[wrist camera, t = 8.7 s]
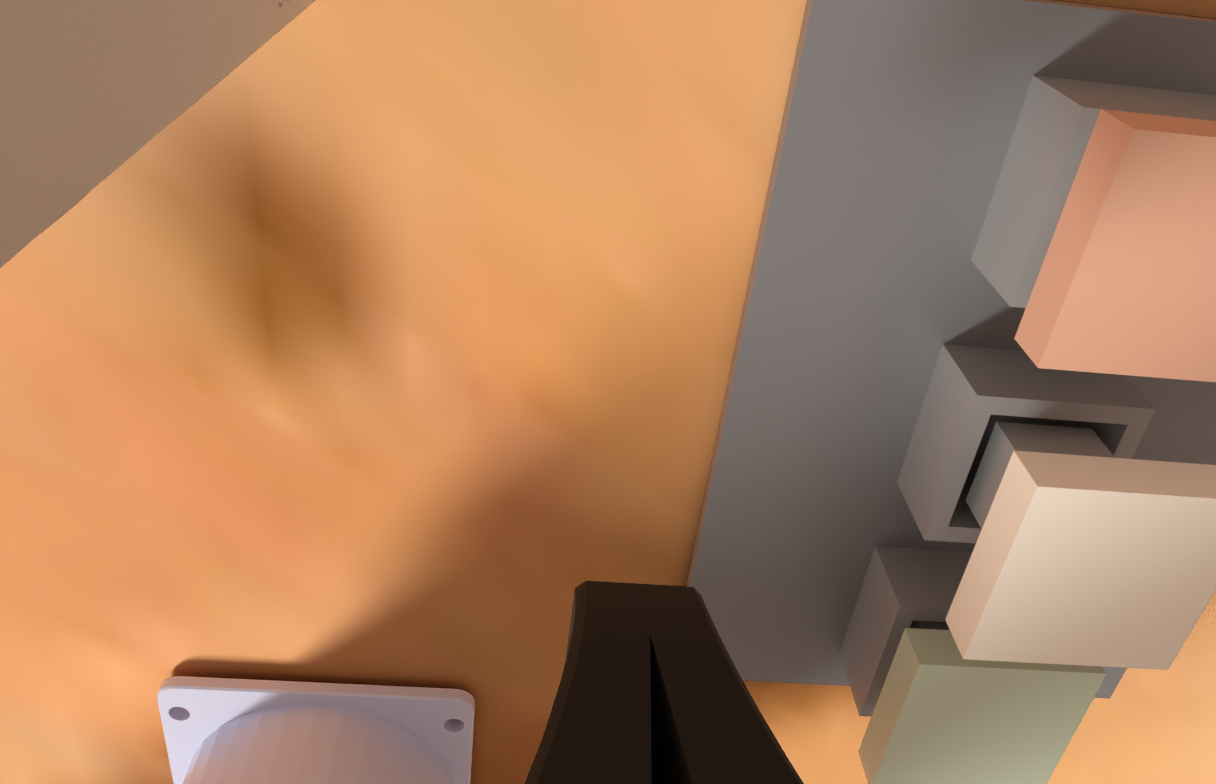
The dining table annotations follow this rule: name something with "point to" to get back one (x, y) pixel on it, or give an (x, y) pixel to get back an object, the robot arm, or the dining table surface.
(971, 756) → the key sage
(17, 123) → the supplement box
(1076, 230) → the key terracotta
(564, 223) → the dining table surface
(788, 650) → the keypad base
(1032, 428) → the key cream
